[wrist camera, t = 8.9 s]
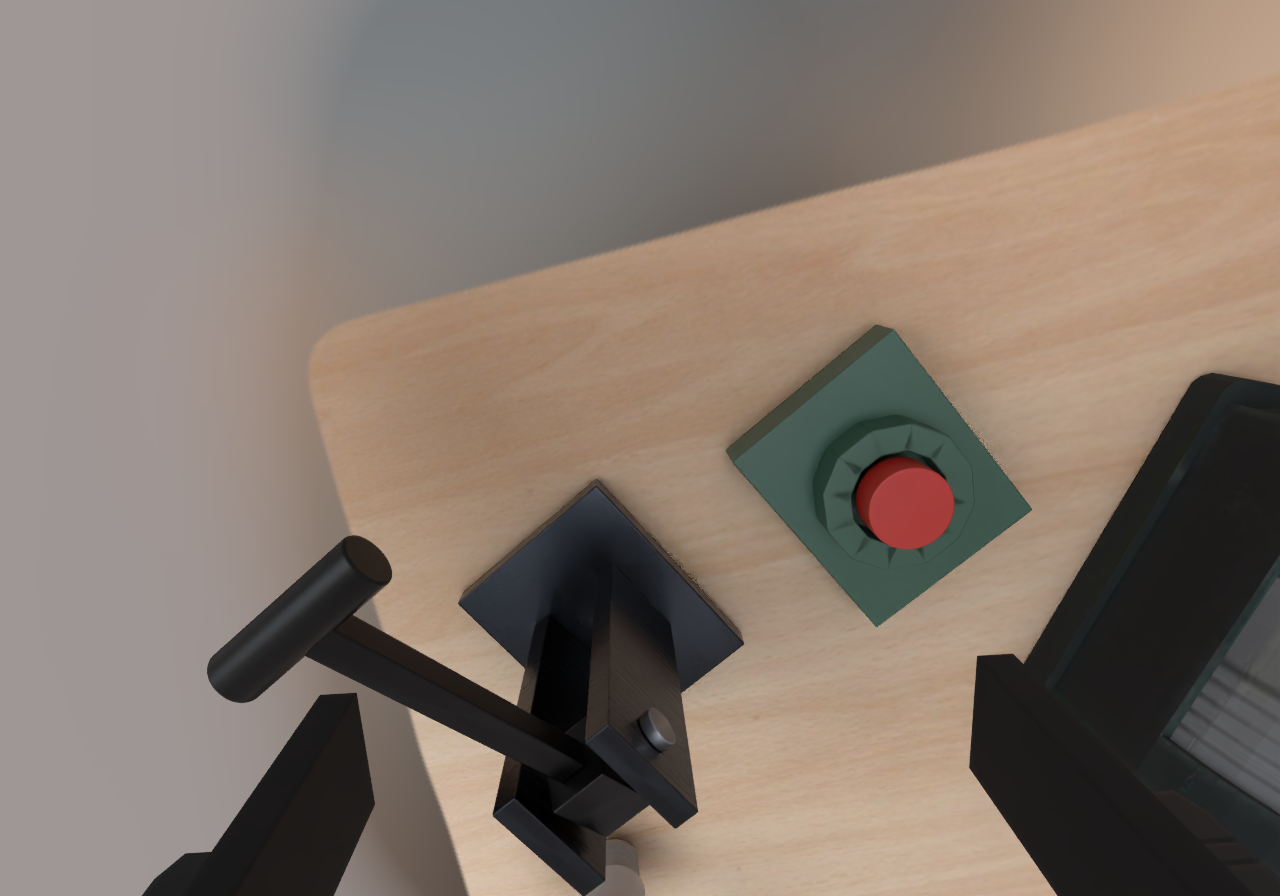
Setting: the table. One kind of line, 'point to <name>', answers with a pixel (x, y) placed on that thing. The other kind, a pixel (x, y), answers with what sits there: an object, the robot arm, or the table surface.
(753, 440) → the button box
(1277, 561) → the light fixture
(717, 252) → the table surface
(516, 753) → the switch lever
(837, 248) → the table surface
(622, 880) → the lightbulb
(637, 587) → the switch bracket
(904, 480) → the button
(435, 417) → the table surface
